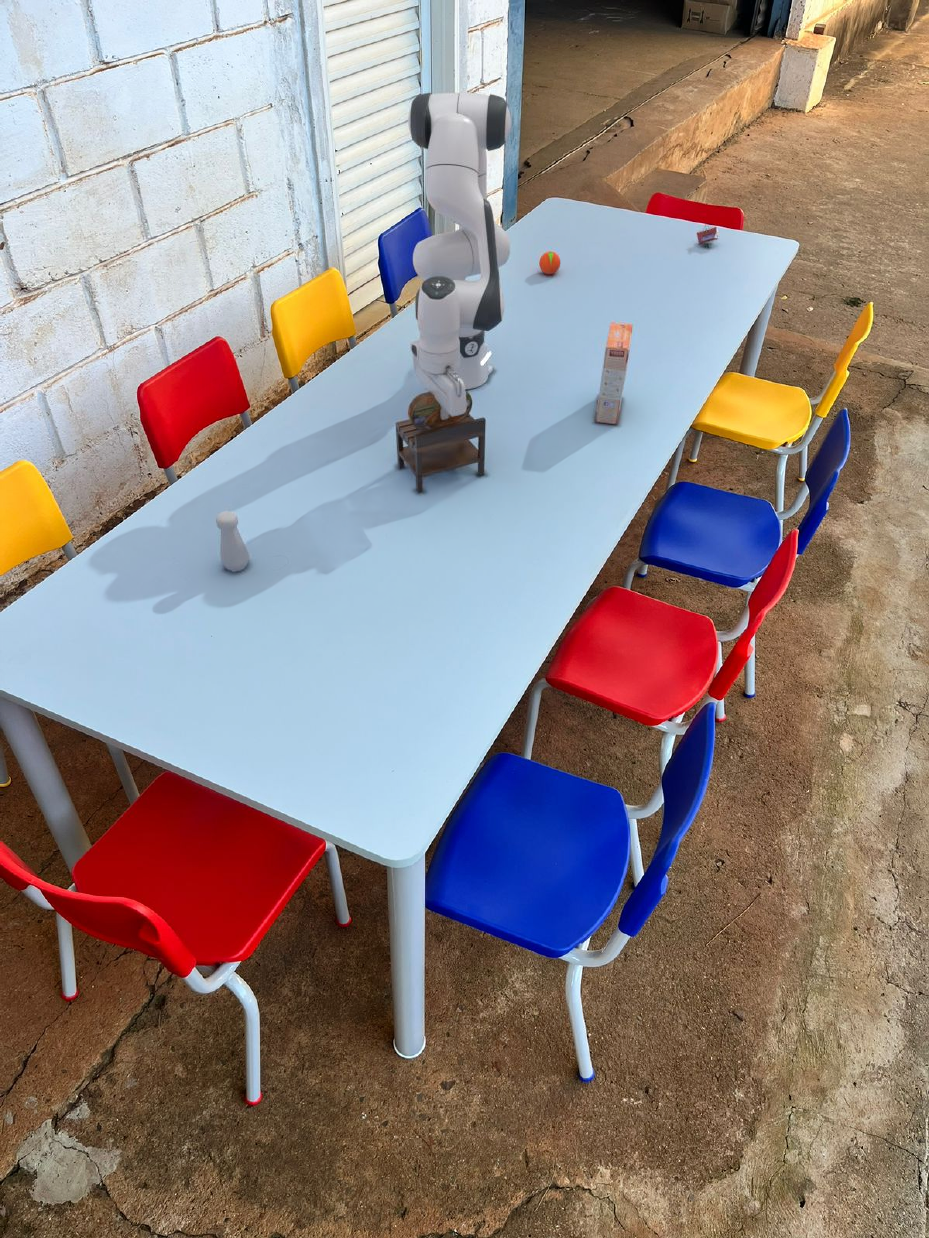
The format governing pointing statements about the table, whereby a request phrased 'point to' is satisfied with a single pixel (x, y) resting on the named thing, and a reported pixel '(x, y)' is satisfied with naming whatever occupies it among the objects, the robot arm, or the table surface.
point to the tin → (432, 412)
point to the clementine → (549, 262)
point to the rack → (440, 447)
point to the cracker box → (614, 372)
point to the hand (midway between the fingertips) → (440, 413)
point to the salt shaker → (231, 542)
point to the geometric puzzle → (708, 235)
